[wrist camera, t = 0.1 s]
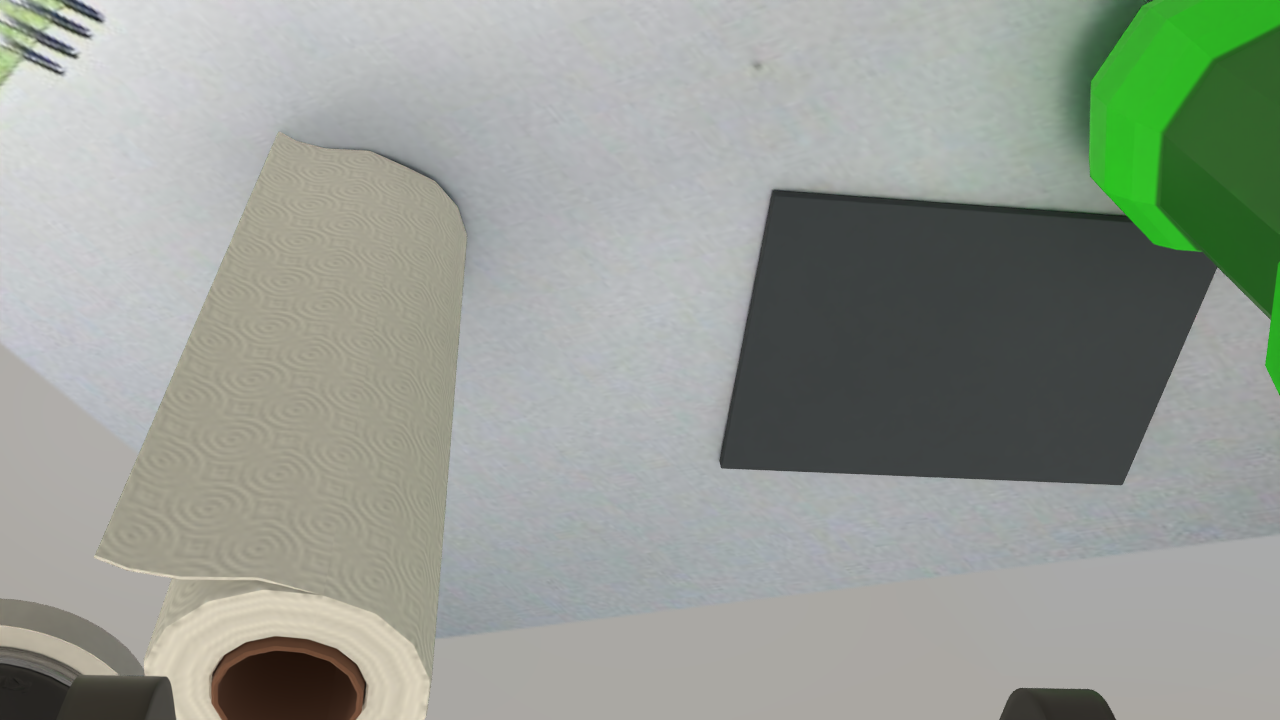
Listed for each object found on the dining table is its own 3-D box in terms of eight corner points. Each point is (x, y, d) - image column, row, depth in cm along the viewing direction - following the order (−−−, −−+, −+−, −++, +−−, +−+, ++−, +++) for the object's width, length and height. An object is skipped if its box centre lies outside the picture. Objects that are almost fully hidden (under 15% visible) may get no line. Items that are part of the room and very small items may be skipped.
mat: (1118, 478, 52) (1122, 485, 52) (719, 461, 50) (720, 468, 50) (1227, 223, 46) (1234, 229, 45) (772, 189, 43) (774, 195, 43)
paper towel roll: (474, 301, 45) (444, 779, 27) (312, 309, 44) (173, 799, 27) (457, 121, 41) (408, 544, 23) (278, 128, 40) (89, 564, 23)
